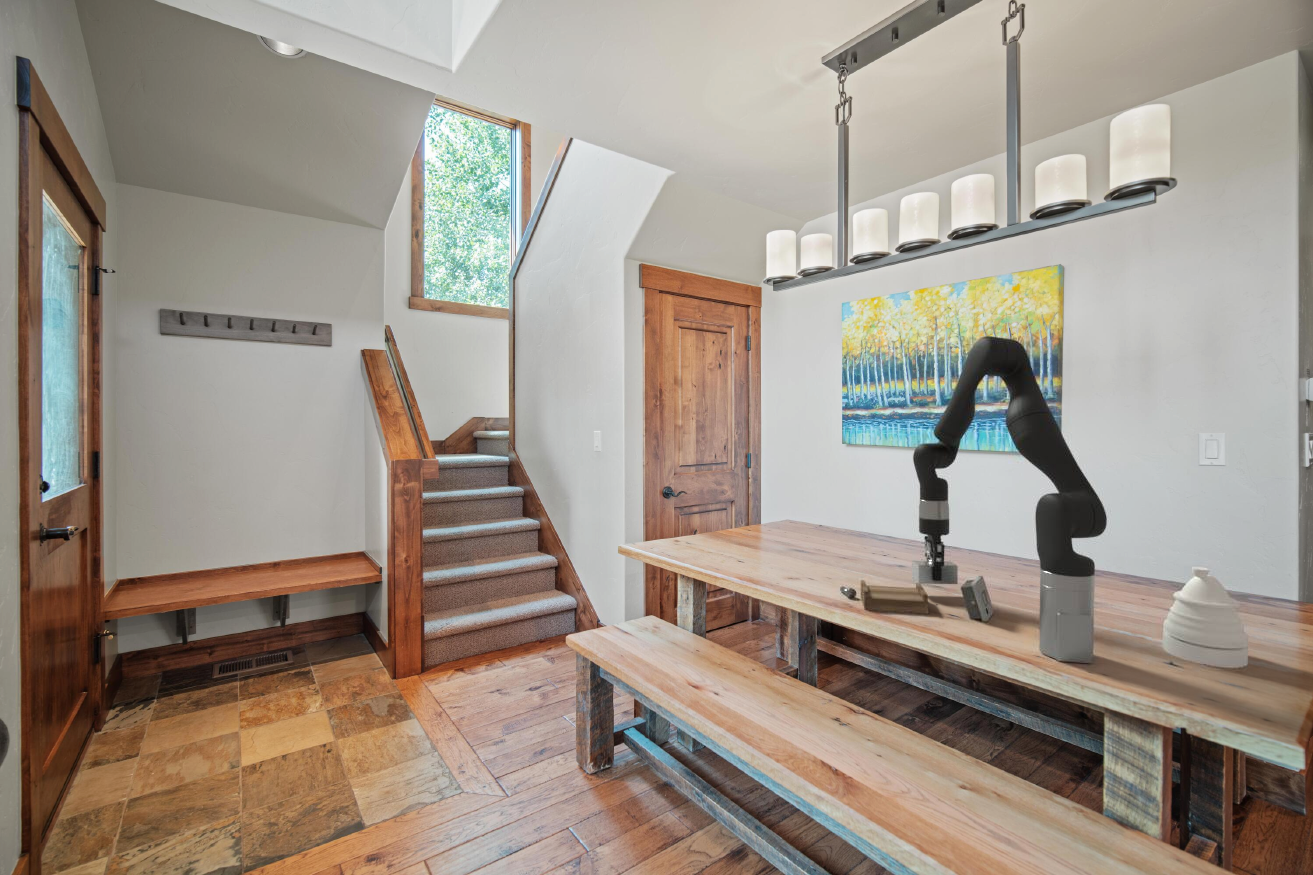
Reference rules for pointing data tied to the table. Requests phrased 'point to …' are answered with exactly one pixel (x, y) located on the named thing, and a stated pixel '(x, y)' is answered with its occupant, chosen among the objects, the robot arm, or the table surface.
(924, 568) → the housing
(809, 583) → the table surface
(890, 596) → the brown wooden tray
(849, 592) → the bolt
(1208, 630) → the honey pot
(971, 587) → the electrical switch
